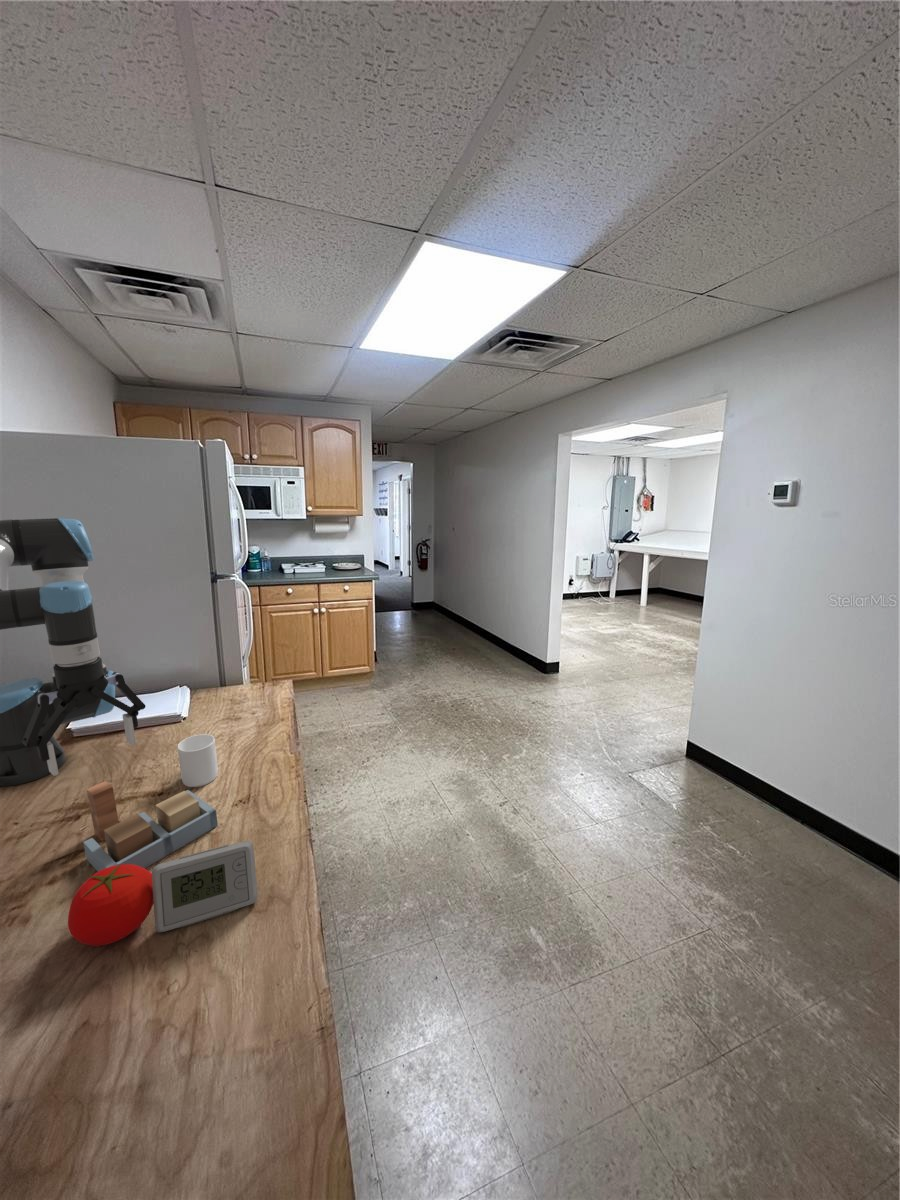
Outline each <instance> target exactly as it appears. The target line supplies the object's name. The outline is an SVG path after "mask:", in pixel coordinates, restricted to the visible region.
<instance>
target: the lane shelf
mask: <svg viewBox="0 0 900 1200" xmlns="http://www.w3.org/2000/svg"><path fill="white" fill-rule="evenodd" d="M184 791H185V792H187V793H188V794H190V795H191V796H192V797H194V798H195V799H196V800H198V801H199V809H200V817H198V818H196V819H194V820H192V821H191V822H189V823H187V824H185V825H183V826H182V827H180V828H178V829H176V830H174V831H173V832H171V833H168V832H167V831H165V830H164V829H163V828H162V827H161V826H160V825H158V822H156V821H155V820H154V819H153V818H151V817H150V816H149V815H148V814H147V813H146V812H145V811H142V812H140V813H137V814H138V815H140V816H141V817H142V818H143V819H144V820H145V821H146V822H148V823H149V824H150V825H151V828H152V835H153V841H154V842H153V843H151V844H149V845H147V846H146V847H144V848H142V849H140V850H138V851H137V852H135V853H133V854H131V855H129V856H128V857H126V858H124V859H122V860H120V861H119V862H117V863H116V862H115V861H114V860H113V859H112V858H111V857H110V856H109V855H108V852H107V851H105V850H104V848H103V847H102V846H101V845H100V844H99V843H98V842H97V841H96V840H95V839H94V838H93V837H91V838H88V839H86V840H84V841H83V847H84V853H85V859H86V860H87V861H88V862H89V864H90V865H91V866H92V867H93V868H94V869H95V870H96V871H97V872H99V871H100V870H103V869H105V868H108V867H111V866H115V865H120V864H121V865H125V864H132V865H137V866H140V867H143V868H145V869H147V868H148V867H150V866H151V865H153V864H155V863H157V862H158V861H160V860H162V859H163V858H165V857H166V856H169V855H170V854H172V853H174V852H175V851H177V850H179V849H181V848H182V847H184V846H186V845H188V844H189V843H190V842H193V841H195V840H196V839H198V838H199V837H201V836H202V835H205V834H206V833H208V832H209V831H211V830H213V829H215V828H216V827H218V825H219V824H218V815H217V809H216V808H214V807H213V806H211V805H210V804H209V803H207V801H204V800H203V799H201V798H200V797H199V796H198V795H196V794H195V793H193V792H192V791H190V790H189V789H186V790H184Z"/></svg>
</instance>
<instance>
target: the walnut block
mask: <svg viewBox="0 0 900 1200" xmlns="http://www.w3.org/2000/svg"><path fill="white" fill-rule="evenodd" d="M86 795H87V798H88V804H89V805H88V806H89V810H90V815H91V821H92V827H93V830H94V831H93V832H94V835H95V836H96V837H97V838H98V839H99V840H100V841H101V842H103V841H105V844H106V850H107V854H108V855H109V856H110V857H111V858H112V859H113V860H114V861H115V862H116V863H117V862H119V861H120V860H122V859H124V858H126V857H128V856H129V855H131V854H133V853H135V852H137V851H138V850H140V849H142V848H144V847H146V846H147V845H149V844H151V843H153V842H154V841H153V835H152V828H151V825H150V824H149V823H148V822H146V821H145V820H144V819H143V818H142V817H141V816H140V815H138V814H139V813H136V814H134V815H131V816H129V817H127V818H126V819H124V820H122V821H119V816H118V815H119V814H118V810H117V803H116V797H115V791H114V786H112V785H111V784H110V783H109V782H108V781H107V780H105V781H102V782H100V783H97V784H95V785H93V786H90V787H88V788H86Z"/></svg>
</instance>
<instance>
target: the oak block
mask: <svg viewBox="0 0 900 1200" xmlns="http://www.w3.org/2000/svg"><path fill="white" fill-rule="evenodd" d="M185 791H186V790H183V791H181V792H178V793H176V794H175V795H173V796H171V797H169V798H167V799H165V800H162V801H161V802H159V803H157V804H155V809H156V817H157V824H158V825H160V826H161V827H162V828H163V829H164V830H165V831H167V832H168V833H171V832H173V831H174V830H176V829H178V828H180V827H182V826H183V825H185V824H187V823H189V822H191V821H192V820H194V819H196V818H198V817H200V809H199V801H198V800H196V799H195V798H194V797H192V796H191V795H190V794H188V793H187V792H185Z"/></svg>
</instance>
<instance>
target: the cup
mask: <svg viewBox="0 0 900 1200" xmlns="http://www.w3.org/2000/svg"><path fill="white" fill-rule="evenodd" d="M177 754H178V760H179V761H178V762H179V769H180V777H181V781H182V783H183V785H185V786H186V787H189V788H198V787H203V786H205V785H208V784H209V783H211V782H213V781H214V780H215V779H216V778H217V776H218V775H219V769H218V757H217V748H216V740H215V737H214V736H213V735H212V734H207V733H202V734H201V733H200V734H195V735H191V736H189V737H186V738H183V740H180V742H179V743H178V744H177Z"/></svg>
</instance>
